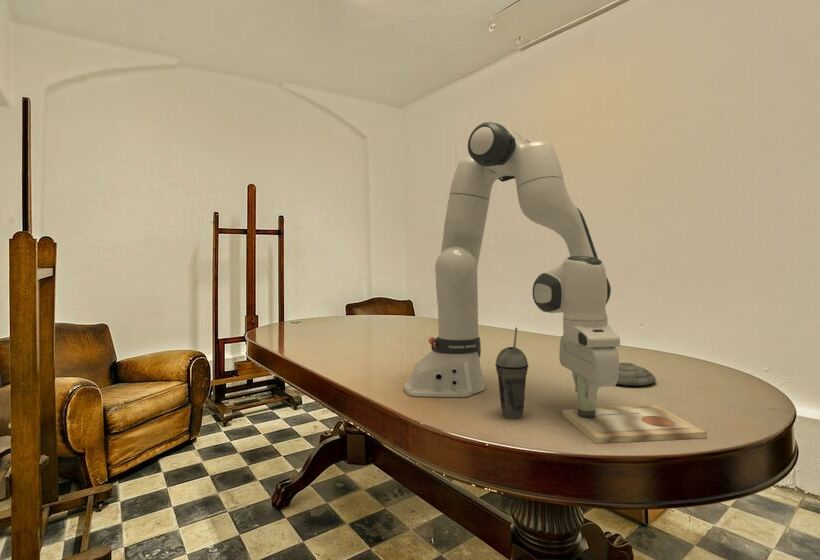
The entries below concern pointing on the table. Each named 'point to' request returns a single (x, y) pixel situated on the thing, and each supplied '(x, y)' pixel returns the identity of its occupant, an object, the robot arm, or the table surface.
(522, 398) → the beverage cup
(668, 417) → the sketch board
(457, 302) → the robot arm
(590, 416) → the cylinder
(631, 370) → the flying saucer
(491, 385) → the table surface
